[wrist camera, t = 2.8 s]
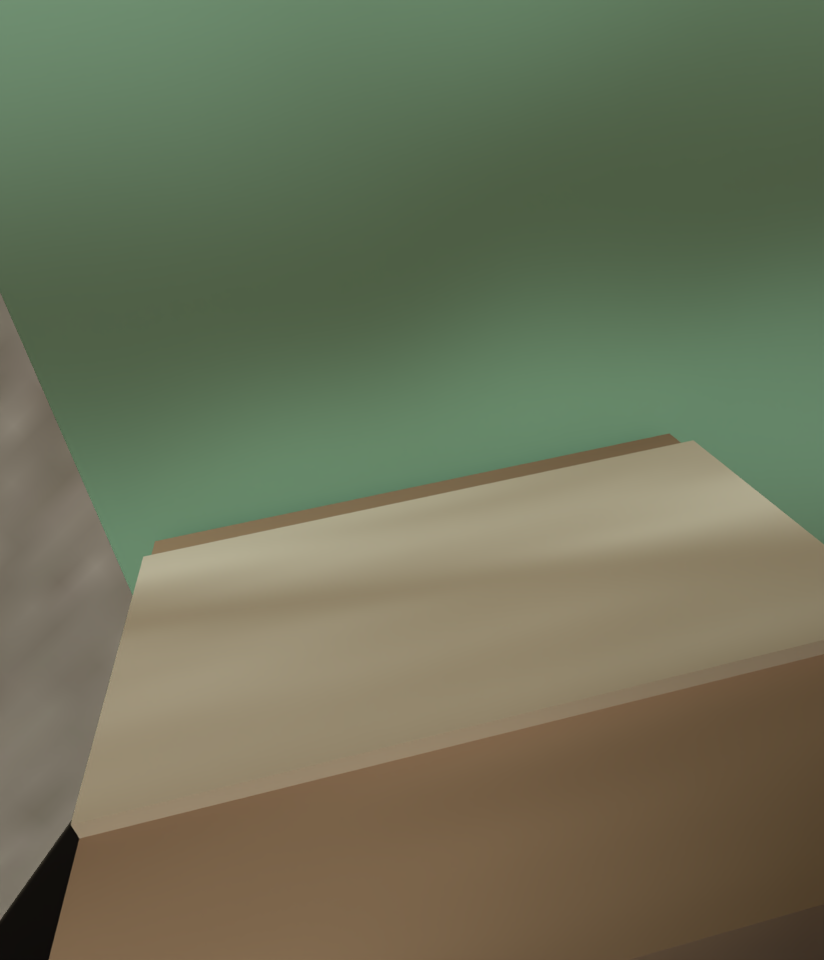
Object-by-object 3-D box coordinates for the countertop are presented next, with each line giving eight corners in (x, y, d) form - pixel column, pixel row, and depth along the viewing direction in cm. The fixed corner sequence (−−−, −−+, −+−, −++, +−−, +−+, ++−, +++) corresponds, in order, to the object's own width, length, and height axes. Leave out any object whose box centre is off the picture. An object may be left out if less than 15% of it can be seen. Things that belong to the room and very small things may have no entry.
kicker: (653, 674, 10) (940, 1103, 6) (246, 774, 9) (230, 1332, 5) (670, 422, 8) (1144, 798, 4) (149, 530, 7) (-11, 1127, 3)
